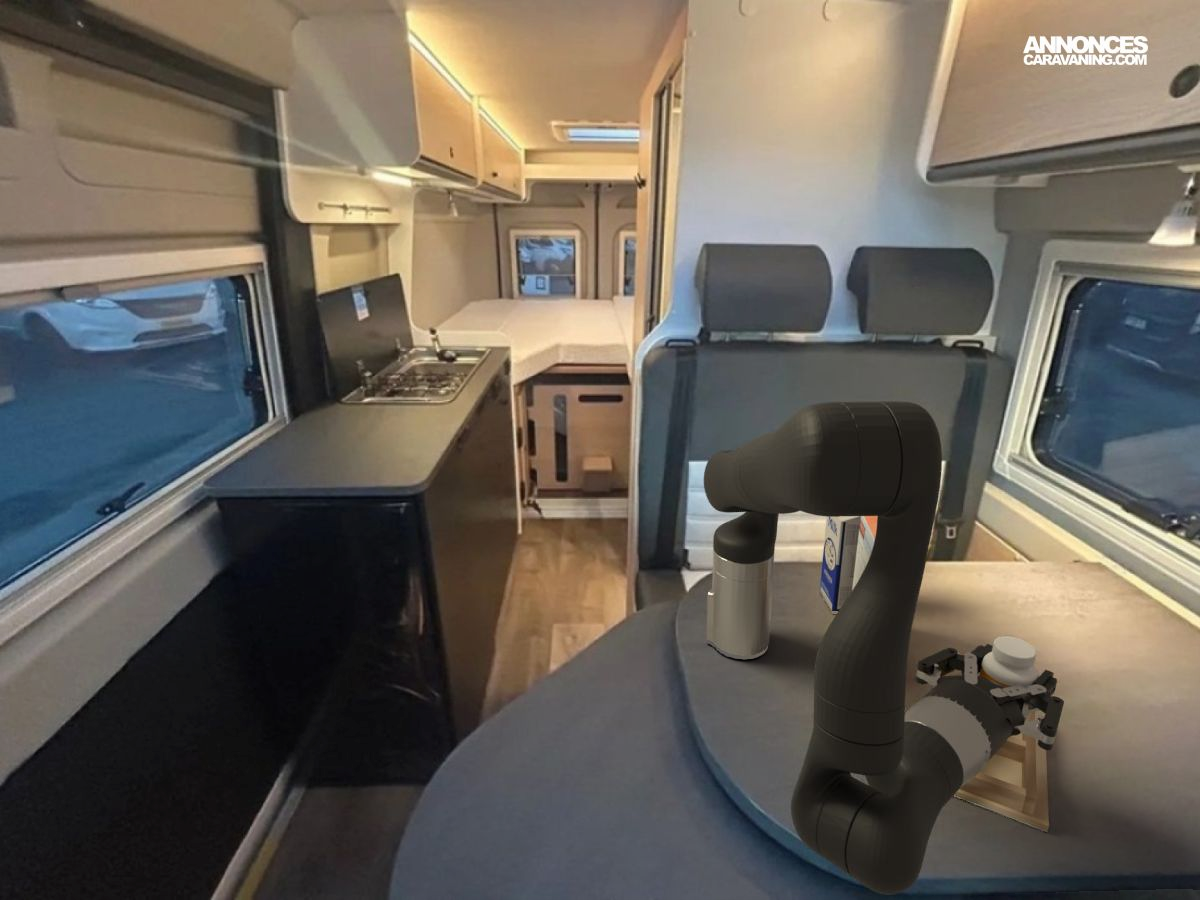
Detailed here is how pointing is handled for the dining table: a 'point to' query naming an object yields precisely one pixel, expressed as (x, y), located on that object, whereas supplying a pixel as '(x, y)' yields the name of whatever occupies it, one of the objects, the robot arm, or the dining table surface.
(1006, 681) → the supplement bottle
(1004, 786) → the tray
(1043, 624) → the dining table surface
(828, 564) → the milk carton
